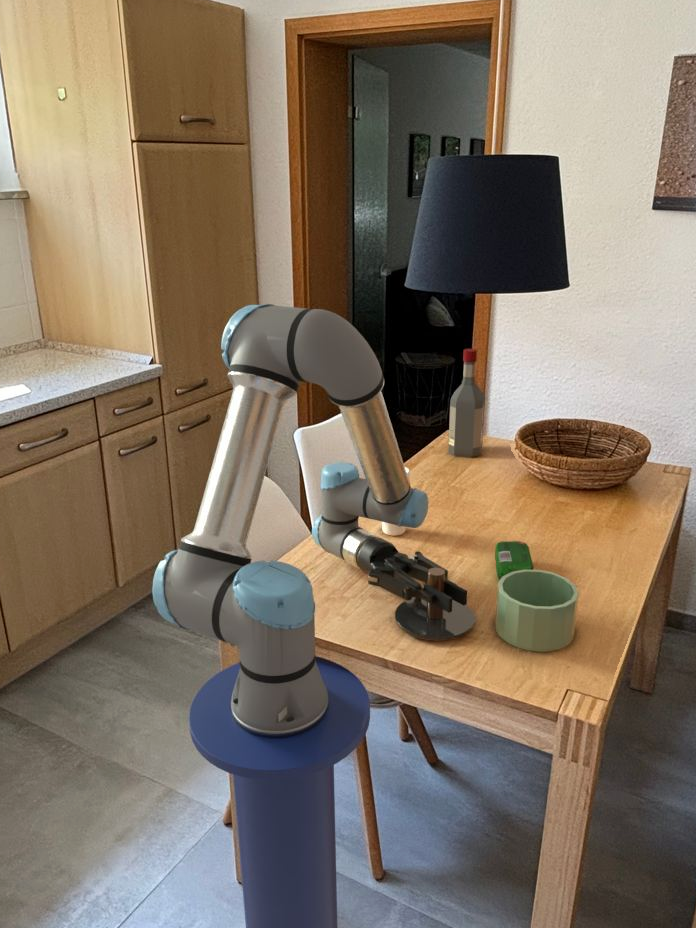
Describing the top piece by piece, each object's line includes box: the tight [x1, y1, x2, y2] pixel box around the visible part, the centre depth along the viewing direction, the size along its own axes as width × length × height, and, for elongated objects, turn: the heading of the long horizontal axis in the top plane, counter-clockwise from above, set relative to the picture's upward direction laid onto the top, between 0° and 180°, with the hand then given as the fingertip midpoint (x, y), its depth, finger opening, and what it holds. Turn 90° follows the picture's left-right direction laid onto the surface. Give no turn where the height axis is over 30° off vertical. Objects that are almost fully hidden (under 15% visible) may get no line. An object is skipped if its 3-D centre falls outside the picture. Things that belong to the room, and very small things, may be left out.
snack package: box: [494, 540, 535, 582], centre depth 156 cm, size 7×16×5 cm, turn 173°
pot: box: [494, 569, 580, 653], centre depth 136 cm, size 14×14×8 cm
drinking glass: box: [381, 466, 411, 537], centre depth 173 cm, size 7×7×15 cm
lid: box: [394, 568, 476, 641], centre depth 139 cm, size 15×15×10 cm
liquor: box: [447, 348, 486, 458], centre depth 219 cm, size 9×9×30 cm
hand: (458, 601), depth 135 cm, fingers closed on lid, 3 cm apart
